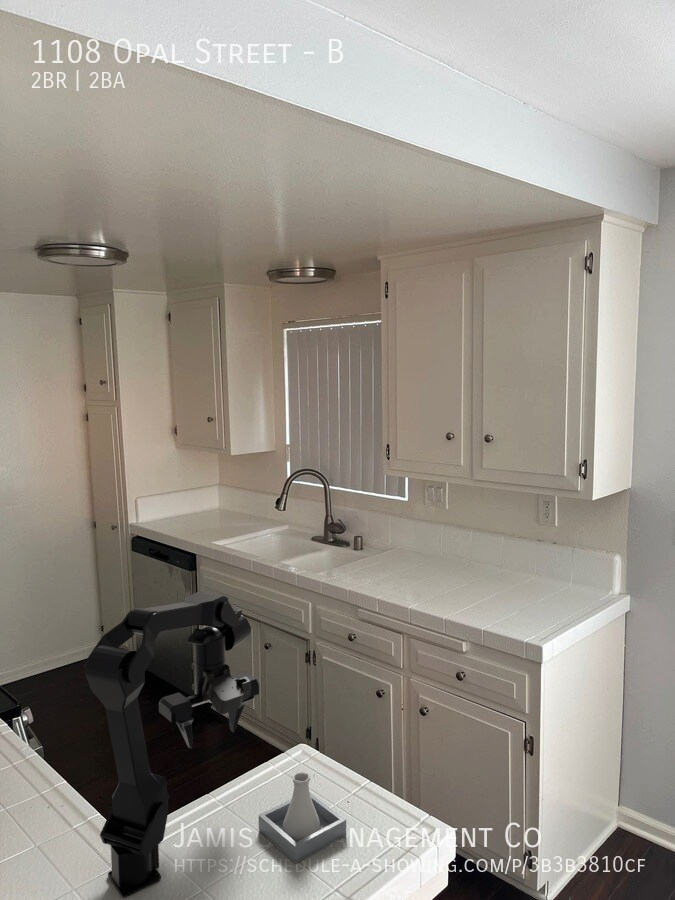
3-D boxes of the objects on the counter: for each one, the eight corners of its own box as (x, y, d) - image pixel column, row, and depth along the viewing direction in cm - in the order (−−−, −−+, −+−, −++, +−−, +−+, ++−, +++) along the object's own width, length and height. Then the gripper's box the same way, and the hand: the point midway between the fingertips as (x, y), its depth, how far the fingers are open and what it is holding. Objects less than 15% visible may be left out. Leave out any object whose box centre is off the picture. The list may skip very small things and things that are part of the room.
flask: (317, 845, 117) (317, 790, 116) (276, 841, 119) (275, 786, 118) (325, 819, 124) (325, 767, 124) (286, 815, 126) (286, 763, 125)
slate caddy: (295, 863, 114) (295, 846, 114) (258, 830, 122) (258, 814, 122) (346, 835, 121) (346, 819, 121) (308, 806, 129) (308, 791, 129)
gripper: (185, 688, 116) (187, 775, 118) (275, 659, 128) (276, 739, 130) (156, 667, 125) (158, 749, 126) (243, 642, 137) (245, 717, 138)
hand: (211, 739), depth 130 cm, fingers open, 9 cm apart
